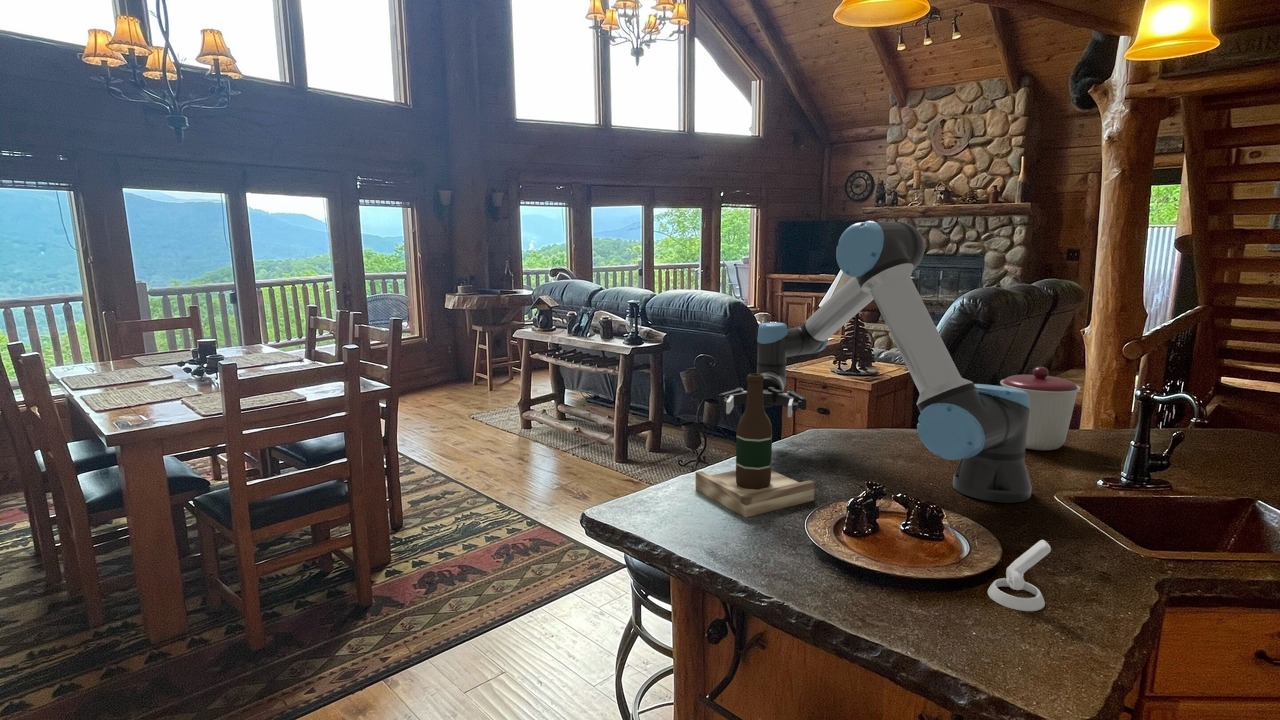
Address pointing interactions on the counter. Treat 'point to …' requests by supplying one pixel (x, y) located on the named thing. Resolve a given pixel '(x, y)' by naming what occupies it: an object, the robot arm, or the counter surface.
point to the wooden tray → (754, 493)
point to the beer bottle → (754, 439)
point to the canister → (1046, 407)
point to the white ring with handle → (1021, 581)
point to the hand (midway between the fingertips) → (758, 409)
